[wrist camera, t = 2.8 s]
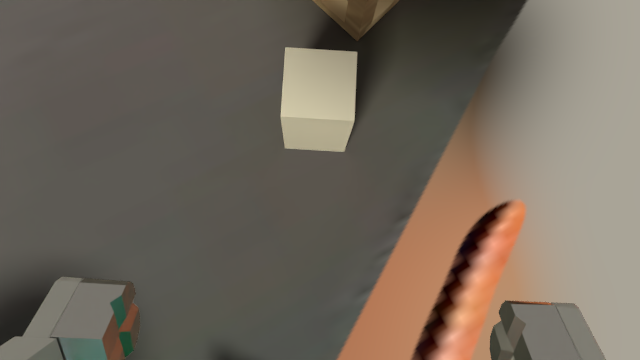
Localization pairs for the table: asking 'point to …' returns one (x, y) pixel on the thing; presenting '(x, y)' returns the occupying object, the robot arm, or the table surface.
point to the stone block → (318, 98)
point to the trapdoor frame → (356, 13)
